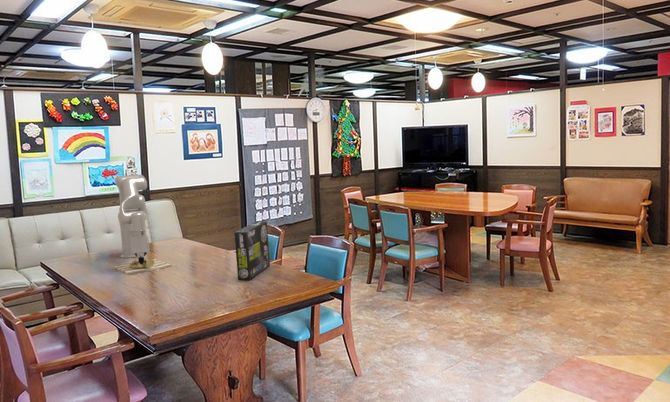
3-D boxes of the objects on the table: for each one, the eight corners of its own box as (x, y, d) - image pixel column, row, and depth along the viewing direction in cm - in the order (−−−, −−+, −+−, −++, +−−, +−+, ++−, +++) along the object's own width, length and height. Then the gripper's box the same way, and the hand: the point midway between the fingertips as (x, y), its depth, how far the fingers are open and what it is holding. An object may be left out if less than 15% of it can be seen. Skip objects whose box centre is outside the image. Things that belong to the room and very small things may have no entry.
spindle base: (113, 268, 324) (112, 262, 324) (154, 260, 341) (154, 255, 341) (128, 275, 305) (128, 268, 304) (171, 266, 322) (171, 260, 321)
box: (250, 280, 280) (247, 231, 278) (237, 280, 282) (233, 231, 279) (270, 266, 313) (267, 221, 310) (258, 265, 315) (255, 221, 312)
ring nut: (136, 270, 309) (136, 262, 309) (126, 265, 324) (126, 257, 324) (160, 266, 318) (159, 258, 317) (149, 261, 333) (149, 254, 332)
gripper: (124, 235, 306) (127, 266, 308) (151, 233, 310) (154, 263, 312) (126, 233, 313) (129, 263, 315) (152, 231, 317) (155, 261, 319)
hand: (141, 263), depth 313 cm, fingers closed
